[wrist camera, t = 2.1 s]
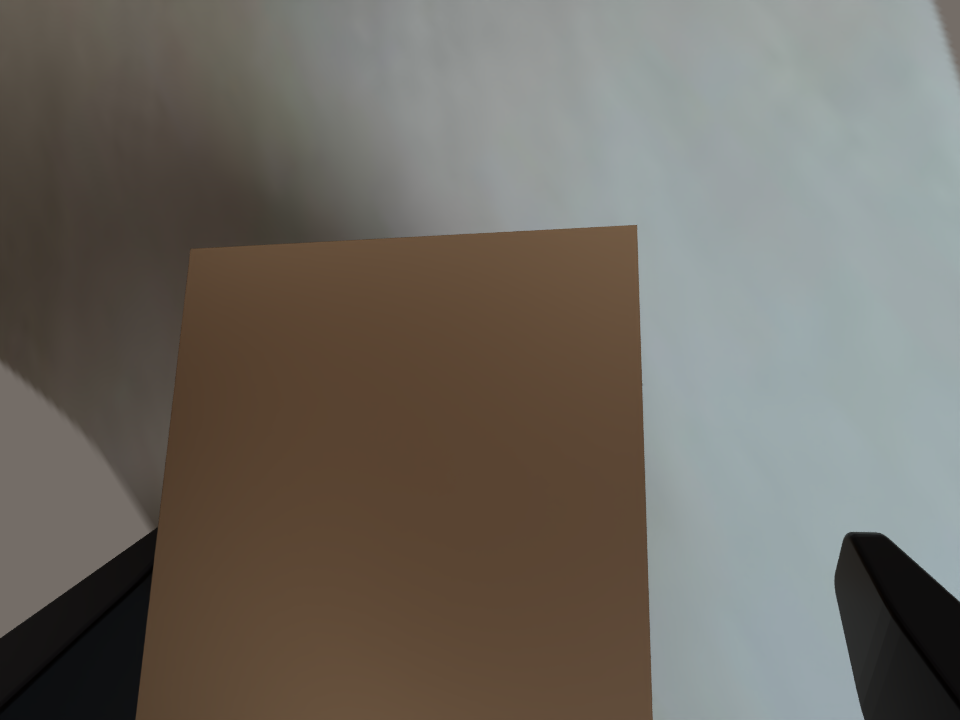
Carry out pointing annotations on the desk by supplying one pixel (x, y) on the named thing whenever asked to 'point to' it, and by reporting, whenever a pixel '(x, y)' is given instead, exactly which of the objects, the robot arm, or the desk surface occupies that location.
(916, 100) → the desk surface
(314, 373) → the block
